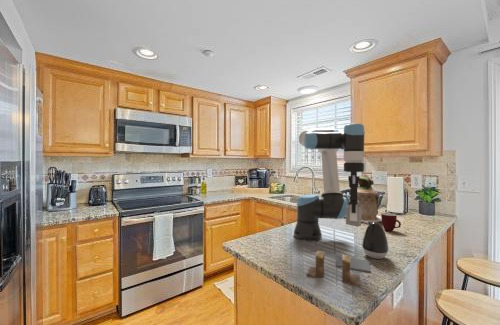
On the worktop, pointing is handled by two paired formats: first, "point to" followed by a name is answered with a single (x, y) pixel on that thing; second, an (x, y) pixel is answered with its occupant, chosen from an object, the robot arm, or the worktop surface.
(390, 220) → the mug
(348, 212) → the power adapter
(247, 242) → the worktop surface
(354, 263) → the mat
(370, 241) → the pump dispenser
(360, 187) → the cookie jar
